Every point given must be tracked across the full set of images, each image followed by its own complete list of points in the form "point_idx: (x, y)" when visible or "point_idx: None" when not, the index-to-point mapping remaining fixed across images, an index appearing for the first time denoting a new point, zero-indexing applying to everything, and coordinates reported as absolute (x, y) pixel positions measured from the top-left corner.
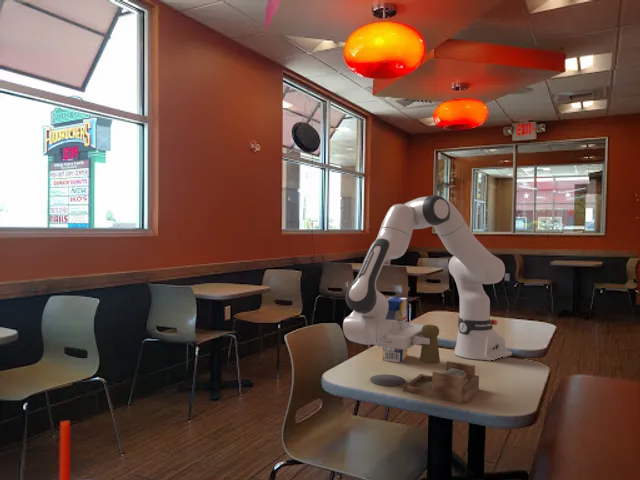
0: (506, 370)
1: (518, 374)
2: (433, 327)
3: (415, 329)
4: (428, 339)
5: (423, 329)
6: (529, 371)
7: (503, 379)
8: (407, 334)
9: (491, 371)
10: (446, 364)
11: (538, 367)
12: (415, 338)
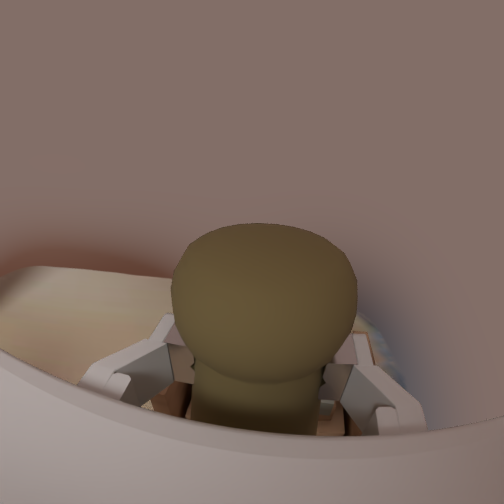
0: (39, 306)
1: (67, 294)
2: (314, 234)
3: (104, 461)
4: (363, 340)
5: (345, 313)
6: (52, 280)
7: (101, 317)
8: (492, 459)
9: (41, 328)
10: (167, 401)
11: (34, 270)
12: (419, 423)
